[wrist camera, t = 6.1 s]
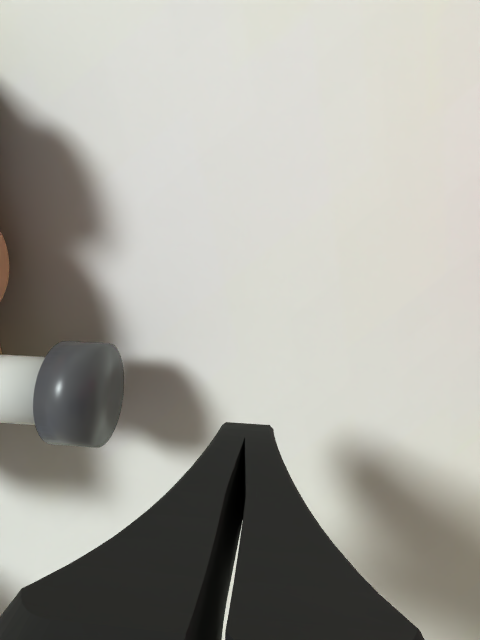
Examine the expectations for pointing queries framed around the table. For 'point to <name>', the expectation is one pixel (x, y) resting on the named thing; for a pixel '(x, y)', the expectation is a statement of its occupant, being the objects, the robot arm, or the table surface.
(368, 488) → the table surface
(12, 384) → the knob
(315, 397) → the table surface
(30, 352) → the table surface
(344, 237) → the table surface
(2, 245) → the knob middle
